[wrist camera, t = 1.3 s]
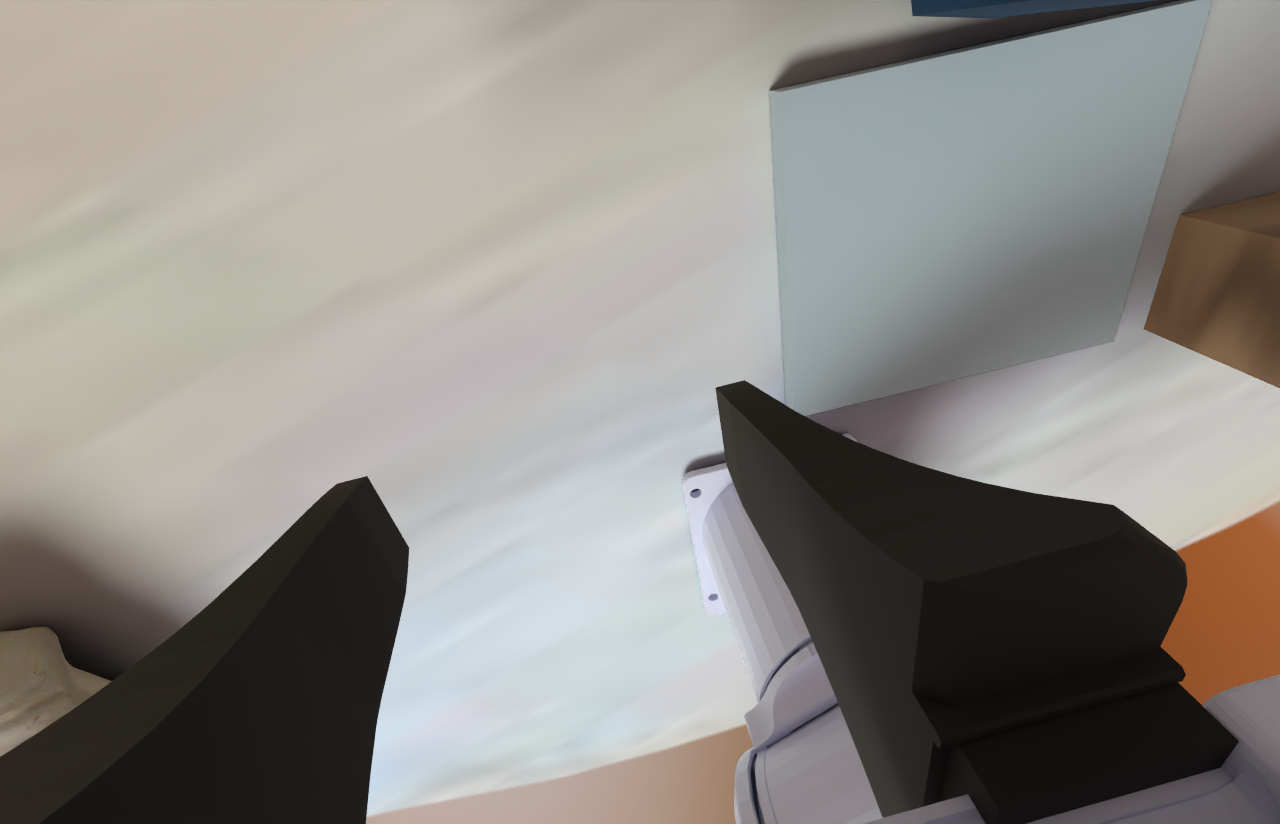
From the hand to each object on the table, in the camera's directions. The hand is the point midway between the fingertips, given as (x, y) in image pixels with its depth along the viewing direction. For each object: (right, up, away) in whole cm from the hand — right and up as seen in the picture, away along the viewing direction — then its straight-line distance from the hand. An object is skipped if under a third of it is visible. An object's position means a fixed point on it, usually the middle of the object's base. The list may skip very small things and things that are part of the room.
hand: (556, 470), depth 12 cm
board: (+14, +8, +10) cm, 19 cm away
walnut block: (+26, +8, +13) cm, 30 cm away
